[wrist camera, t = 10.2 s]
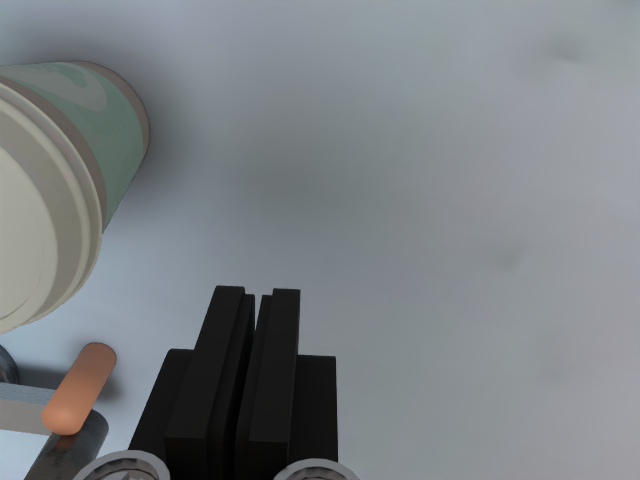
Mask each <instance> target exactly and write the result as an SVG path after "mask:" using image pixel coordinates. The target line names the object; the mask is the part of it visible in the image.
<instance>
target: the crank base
mask: <svg viewBox="0 0 640 480" xmlns="http://www.w3.org/2000/svg"><path fill="white" fill-rule="evenodd" d="M0 382H1V383H9V384H16V385H18V383H19V376H18V371H17V368H16V365H15V363H14V361H13V360H12V358H11V356H10V355H9V354H8V353H7V351H6V350H5V349H4V348H3V347H2V346H0Z"/></svg>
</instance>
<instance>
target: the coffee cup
mask: <svg viewBox="0 0 640 480" xmlns="http://www.w3.org/2000/svg"><path fill="white" fill-rule="evenodd" d="M149 138H150V129H149V121H148V117H147V114H146V111H145V108H144V106H143V104H142V102H141V100H140V99H139V97H138V95H137V94H136V93H135V91H134V90H133V89H132V88H131V86H130V85H129V84H128V83H127V82H126V81H124V80H123V79H122V78H121V77H120V76H118V75H117V74H115V73H114V72H112V71H111V70H109V69H107V68H105V67H102V66H100V65H97V64H94V63H90V62H84V61H66V62H49V63H36V64H23V65H10V66H0V335H1V334H4V333H6V332H8V331H11V330H13V329H15V328H16V327H18V326H22V325H25V324H28V323H31V322H34V321H36V320H38V319H40V318H42V317H44V316H46V315H48V314H49V313H51V312H52V311H54V310H55V309H57V308H58V307H59V306H60V305H62V304H63V303H65V302H66V301H67V300H69V299H70V298H71V297H72V296H73V295H74V294H75V293H76V292H77V291H78V290H79V289H80V288H81V287H82V286H83V285H84V283H85V282H86V280H87V279H88V277H89V276H90V274H91V272H92V270H93V268H94V266H95V264H96V261H97V258H98V255H99V251H100V246H101V239H102V235H103V233H104V231H105V229H106V227H107V225H108V223H109V222H110V220H111V218H112V216H113V214H114V212H115V211H116V209H117V207H118V205H119V203H120V201H121V200H122V198H123V196H124V194H125V192H126V190H127V188H128V187H129V185H130V183H131V181H132V179H133V177H134V176H135V174H136V172H137V170H138V168H139V166H140V164H141V162H142V160H143V158H144V156H145V154H146V152H147V149H148V145H149Z"/></svg>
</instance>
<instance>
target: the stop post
mask: <svg viewBox="0 0 640 480" xmlns="http://www.w3.org/2000/svg"><path fill="white" fill-rule="evenodd" d="M115 364H116V355H115V353H114V351H113V350H112V349H111V348H110V347H108V346H106V345H104V344H101V343H91V344H88V345H86V346H85V347H84V348H83V350H82V351H81V353H80V354H79V356H78V357H77V359H76V360H75V362H74V364H73V365H72V367H71V368H70V370H69V371H68V373H67V374H66V376H65V377H64V379H63V381H62V382H61V384H60V385H59V387H58V388H57V390H56V391H55V393H54V395H53V396H52V398H51V399H50V401H49V402H48V404H47V405H46V407H45V408H44V410H43V412H42V414H41V419H42V422H43V424H44V425H45V426H46V427H47V428H48V429H49V430H50V431H52V432H54V433H57V434H60V435H71V434H75V433H76V432H78V431H79V430H80V429H81V427H82V425H83V423H84V421H85V420H86V418H87V416H88V414H89V412H90V410H91V408H92V407H93V405H94V403H95V401H96V399H97V397H98V395H99V394H100V392H101V390H102V388H103V386H104V384H105V382H106V381H107V379H108V377H109V375H110V373H111V371H112V369H113V368H114V366H115Z"/></svg>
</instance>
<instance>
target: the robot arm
mask: <svg viewBox="0 0 640 480" xmlns="http://www.w3.org/2000/svg"><path fill="white" fill-rule="evenodd" d="M299 317H300V290H299V289H278V288H274V289H273V294H272V295H262V299H261V305H260V310H259V315H258V320H257V325H256V330H255V295H254V294H245V288H244V287H238V286H218V285H217V286H216V288H215V290H214V293H213V296H212V299H211V302H210V305H209V308H208V311H207V314H206V316H205V319H204V322H203V325H202V328H201V331H200V334H199V337H198V340H197V343H196V345H195V348H194V350H190V349H170V350H169V351H168V353H167V355H166V357H165V359H164V362H163V364H162V367H161V369H160V372H159V374H158V377H157V379H156V381H155V384H154V386H153V389H152V391H151V394H150V396H149V399H148V401H147V403H146V406H145V408H144V411H143V413H142V416H141V418H140V420H139V423H138V425H137V428H136V430H135V433H134V435H133V438H132V440H131V442H130V445H129V447H128V450H124V451H118V452H113V453H109V454H107V455H105V456H102V457H100V458H98V459H95V460H94V461H92V462H91V463H90V464H88V465H87V466H85V467H84V468H82V469H81V471H80V472H79V473H78V474H77V475H76V476H75V477H74V478H73V479H72V480H360V479H359V478H358V477H357V476H356V475H355V474H354V473H353V472H352V471H351V470H349V469H348V468H346V467H345V466H343V465H342V464H340V463H338V432H337V387H336V357H335V356H314V355H298V341H299Z"/></svg>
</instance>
